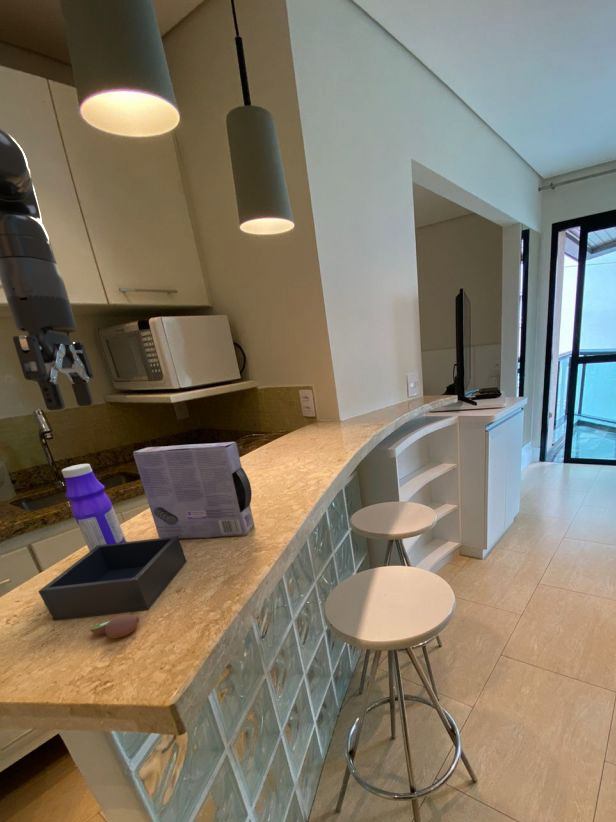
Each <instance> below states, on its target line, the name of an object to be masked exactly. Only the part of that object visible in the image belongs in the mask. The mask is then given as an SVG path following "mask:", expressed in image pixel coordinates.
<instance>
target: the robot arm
mask: <svg viewBox="0 0 616 822" xmlns="http://www.w3.org/2000/svg"><path fill="white" fill-rule="evenodd" d="M0 284H1V287H2V290H3V293H4V296H5V299H6V301H7V304H8V308H9V311H10V314H11V317H12V320H13V323H14V325H15V329H16V330H18V331H19V332H21V333H24V335H22V334H21V335H13V336H12V341H13V344H14V347H15V350H16V353H17V357H18V361H19V365H20V368H21V371H22V374H23V377H24V379H25V380H26V381H33V382H34V383H35V384H36V385H38V386H39V388H40V389H39V390H40V392H41V395H42V398H43V401H44V404H45V407H46V409H47V410H48V411H59V410H64V409H65V408H66V405H65V401H64V399H63V395H62V393H61V389H60V386H59V384H58V383H57V382H58V381H57V380H58V373H62V374H65V376H66V377H67V378H68V379H69V381H70V383H71V387H72V390H73V393H74V397H75V401H76V404H77V405H78V406H79V407H89V406H93V405H94V401H93V397H92V393H91V391H90V387H89V382H90V379H94V372H93V369H92V366H91V362H90V360H89V357H88V354H87V350H86V346H85V345H84V342H82V341H72V340H71V337H70V333H75V332H76V331H77V330H78V326H77V323H76V319H75V315H74V313H73V309H72V305H71V302H70V299H69V295H68V291H67V288H66V285H65V282H64V279H63V277H62V274H61V272H60V270H59V267H58V264H57V260H56V256H55V253H54V250H53V247H52V243H51V240H50V237H49V234H48V232H47V230H46V228H45V226H44V223H43V219H42V215H41V211H40V206H39V202H38V198H37V194H36V190H35V186H34V183H33V177H32V174H31V170H30V166H29V163H28V160H27V156H26V155H25V153H24V151H23V148H22V147H21V146H20V145H19V143H18V142H17V141H16V140H15V139H14V138H13V137H12V136H11V135H10V134H9V133H7V132H6V131H5V130H4V129H2V128H0ZM32 369H33V370H32Z"/></svg>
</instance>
